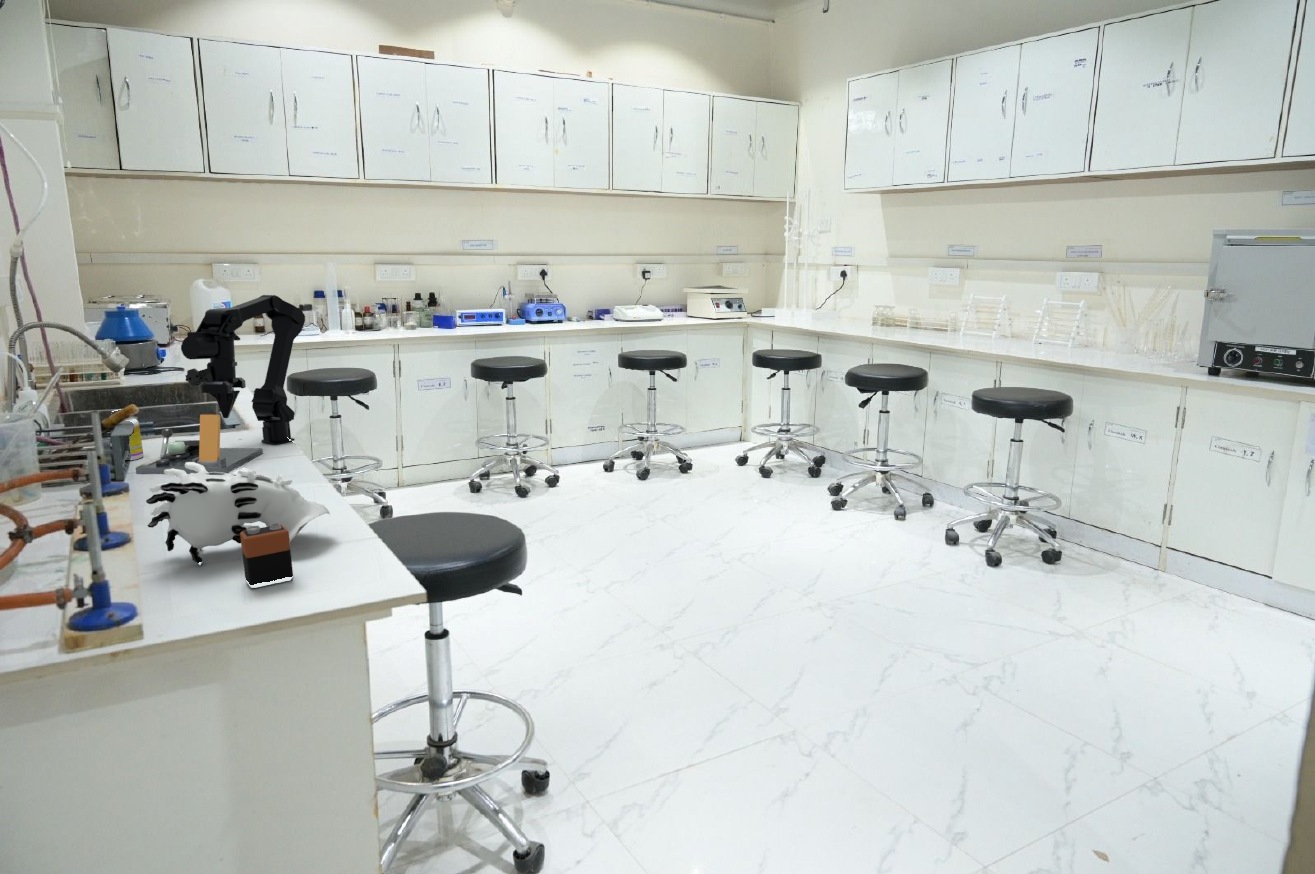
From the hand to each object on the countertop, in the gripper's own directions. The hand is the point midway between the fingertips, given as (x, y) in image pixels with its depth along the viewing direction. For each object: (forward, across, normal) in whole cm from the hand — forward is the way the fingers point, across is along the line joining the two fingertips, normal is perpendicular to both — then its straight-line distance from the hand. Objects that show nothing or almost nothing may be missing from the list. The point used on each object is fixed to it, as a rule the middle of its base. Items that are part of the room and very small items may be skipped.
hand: (225, 418), depth 219 cm
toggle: (+10, +9, -13) cm, 18 cm away
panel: (+11, +4, -5) cm, 13 cm away
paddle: (+10, +15, 0) cm, 18 cm away
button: (+8, +3, -11) cm, 14 cm away
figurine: (+17, +73, +21) cm, 78 cm away
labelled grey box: (+7, -3, -10) cm, 12 cm away
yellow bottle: (+11, -6, -25) cm, 28 cm away
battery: (+19, +89, +28) cm, 95 cm away
